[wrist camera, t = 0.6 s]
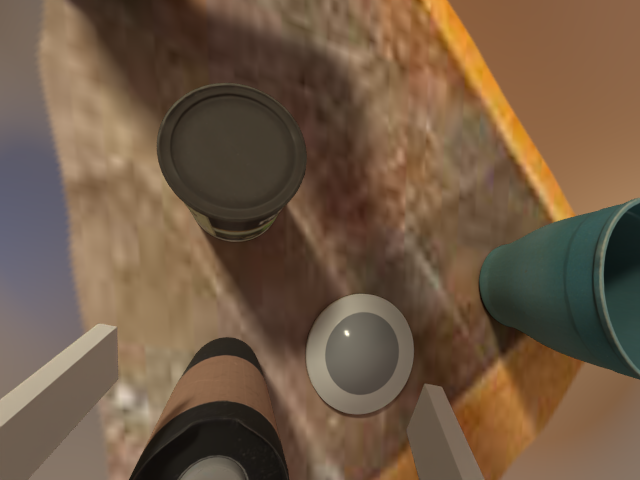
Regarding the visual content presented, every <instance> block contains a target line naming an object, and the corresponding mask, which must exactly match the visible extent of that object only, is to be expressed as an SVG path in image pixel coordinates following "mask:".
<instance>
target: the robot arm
mask: <svg viewBox="0 0 640 480" xmlns="http://www.w3.org/2000/svg"><path fill="white" fill-rule="evenodd" d="M117 380H118V347H117V327H116V326H110V325H105V324H100V323H98V324H97V325H96V326H94V327H93V328H92V329H91V330H89V331H88V332H87V333H85V334H84V335H83V336H82V337H80V338H79V339H78V340H76V341H75V342H74V343H73V344H71V345H70V346H69V347H68V348H66V349H65V350H64V351H63V352H61V353H60V354H59V355H57V356H56V357H55V358H53V359H52V360H51V361H50V362H48V363H47V364H46V365H44V366H43V367H42V368H41V369H39V370H38V371H37V372H35V373H34V374H33V375H31V377H29V378H28V379H26V380H25V381H24V382H22V383H21V384H20V385H19V386H17V387H16V388H15V389H13V390H12V391H11V392H10V393H8V394H7V395H6V396H4V397H3V398H2V399H1V400H0V480H28V479H29V478H30V477H31V476H32V474H33V473H34V472H35V471H36V470H37V469H38V468H39V467H40V465H41V464H42V463H43V462H44V461H45V460H46V459H47V458H48V457H49V455H50V454H51V453H52V452H53V451H54V450H55V449H56V448H57V447H58V445H59V444H60V443H61V442H62V441H63V440H64V439H65V438H66V437H67V435H68V434H69V433H70V432H71V431H72V430H73V429H74V428H75V427H76V425H77V424H78V423H79V422H80V421H81V420H82V419H83V418H84V417H85V415H86V414H87V413H88V412H89V411H90V410H91V409H92V408H93V407H94V405H95V404H96V403H97V402H98V401H99V400H100V399H101V398H102V397H103V395H104V394H105V393H106V392H107V391H108V390H109V389H110V388H111V387H112V385H113V384H114V383H115V382H116V381H117ZM406 432H407V435H408V439H409V443H410V447H411V450H412V454H413V458H414V462H415V465H416V469H417V473H418V477H419V480H485V479H484V477H483V475H482V473H481V471H480V468H479V466H478V464H477V462H476V460H475V458H474V455H473V453H472V451H471V449H470V447H469V445H468V442H467V440H466V438H465V436H464V434H463V431H462V429H461V427H460V425H459V423H458V421H457V418H456V416H455V414H454V412H453V410H452V408H451V405H450V403H449V401H448V399H447V397H446V395H445V392H444V390H443V388H442V387H441V386H436V385H430V384H425V383H424V386H423V389H422V391H421V394H420V396H419V399H418V402H417V404H416V407H415V409H414V412H413V415H412V417H411V420H410V422H409V425H408V428H407V430H406Z"/></svg>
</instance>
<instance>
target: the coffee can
mask: <svg viewBox="0 0 640 480" xmlns="http://www.w3.org/2000/svg"><path fill="white" fill-rule="evenodd" d="M157 155H158V161H159V165H160V168H161V171H162V173H163V175H164V177H165V179H166V181H167V183H168V185H169V186H170V187H171V189H172V190H173V191H174V193H175V194H176V195H177V196H178V197H179V198H180V199H181V200H182V201H183V202H184V203H185V205H186V206H187V207H188V209H189V210H190V212H191V213H192V215H193V217H194V218H195V220H196V221H197V223H198V224H199V225H200V226H201V227H202V228H203V229H204V230H205V231H206V232H207V233H209V234H210V235H212V236H214V237H216V238H218V239H221V240H225V241H231V242H242V241H247V240H251V239H254V238H256V237H258V236H260V235H261V234H263V233H264V232H265V231H266V230H268V229H269V228H270V226H271V225H272V224H273V222H274V221H275V219H276V217H277V215H278V214H279V213H280V211H281V210H282V209H283V207H284V206H285V205H286V204H287V203H288V202H289V201H290V200H291V199H292V197H293V196H294V195H295V194H296V192H297V191H298V189H299V187H300V185H301V183H302V180H303V178H304V175H305V170H306V162H307V154H306V147H305V142H304V138H303V135H302V133H301V130H300V128H299V126H298V124H297V123H296V121H295V120H294V118H293V117H292V115H291V114H290V113H289V112H288V111H287V109H286V108H285V107H284V106H283V105H281V104H280V103H279V102H278V101H277V100H275V99H274V98H272V97H271V96H269V95H268V94H266V93H264V92H262V91H260V90H258V89H255V88H252V87H249V86H246V85H241V84H234V83H217V84H210V85H206V86H203V87H200V88H197V89H195V90H193V91H191V92H189V93H187V94H186V95H184V96H183V97H181V98H180V99H179V100H178V101H176V102H175V103H174V105H173V106H172V107H171V108H170V109H169V110H168V112H167V113H166V115H165V116H164V118H163V120H162V123H161V126H160V129H159V132H158V137H157Z"/></svg>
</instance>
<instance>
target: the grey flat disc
mask: <svg viewBox="0 0 640 480" xmlns="http://www.w3.org/2000/svg"><path fill="white" fill-rule="evenodd" d="M413 358H414V344H413V337H412V333H411V330H410V327H409V325H408V323H407V321H406V319H405V318H404V316H403V315H402V313H401V312H400V311H399V310H398V309H397V308H396V307H395V306H394V305H393V304H392V303H390V302H389V301H387V300H385V299H383V298H381V297H378V296H375V295H370V294H352V295H347V296H344V297H342V298H339V299H338V300H336V301H334V302H333V303H331V304H330V305H328V306H327V307H326V308H325V309H324V310H323V311H322V312H321V313H320V315H319V316H318V317H317V319H316V320H315V322H314V324H313V326H312V328H311V330H310V332H309V335H308V338H307V343H306V351H305V360H306V368H307V372H308V375H309V378H310V381H311V383H312V385H313V387H314V388H315V390H316V391H317V393H318V394H319V395H320V397H321V398H322V399H323V400H324V401H325V402H326V403H328V404H329V405H330V406H332V407H333V408H335V409H337V410H339V411H341V412H345V413H349V414H366V413H371V412H374V411H376V410H379V409H381V408H383V407H384V406H386V405H387V404H389V403H390V402H391V401H392V400H393V399H394V398H395V397H396V396H397V395H398V394H399V393H400V392H401V390H402V389H403V387H404V386H405V384H406V382H407V380H408V378H409V375H410V372H411V369H412V365H413Z"/></svg>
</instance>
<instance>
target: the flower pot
mask: <svg viewBox="0 0 640 480" xmlns="http://www.w3.org/2000/svg"><path fill="white" fill-rule="evenodd" d="M479 286H480V293H481V297H482V300H483V302H484V305H485V307H486V308H487V310H488V312H489V313H490V314H491V316H492V317H493V318H494V319H496V320H497V321H498V322H500V323H501V324H503V325H505V326H509V327H514V328H516V329H518V330H519V331H521V332H523V333H525V334H527V335H528V336H530V337H531V338H533V339H535V340H536V341H538V342H540V343H541V344H543V345H545V346H547V347H549V348H551V349H553V350H555V351H558V352H560V353H562V354H565V355H567V356H570V357H573V358H575V359H578V360H581V361H584V362H587V363H591V364H594V365H597V366H600V367H603V368H607V369H610V370H613V371H615V372H617V373H620V374H624V375H627V376H630V377H633V378H637V379H640V198H637V199H633V200H630V201H628V202H626V203H624V204H620V205H616V206H612V207H608V208H604V209H601V210H599V211H595V212H591V213H587V214H583V215H579V216H575V217H571V218H567V219H564V220H560V221H557V222H554V223H551V224H549V225H546V226H544V227H542V228H539V229H537V230H535V231H533V232H531V233H529V234H528V235H526V236H524V237H522V238H520V239H519V240H517V241H515V242H513V243H511V244H506V245H502V246H499V247H497V248H496V249H494V250H493V251H492V252H490V254H489V255H488V256H487V257H486V259H485V261H484V263H483V265H482V268H481V272H480V278H479Z"/></svg>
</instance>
